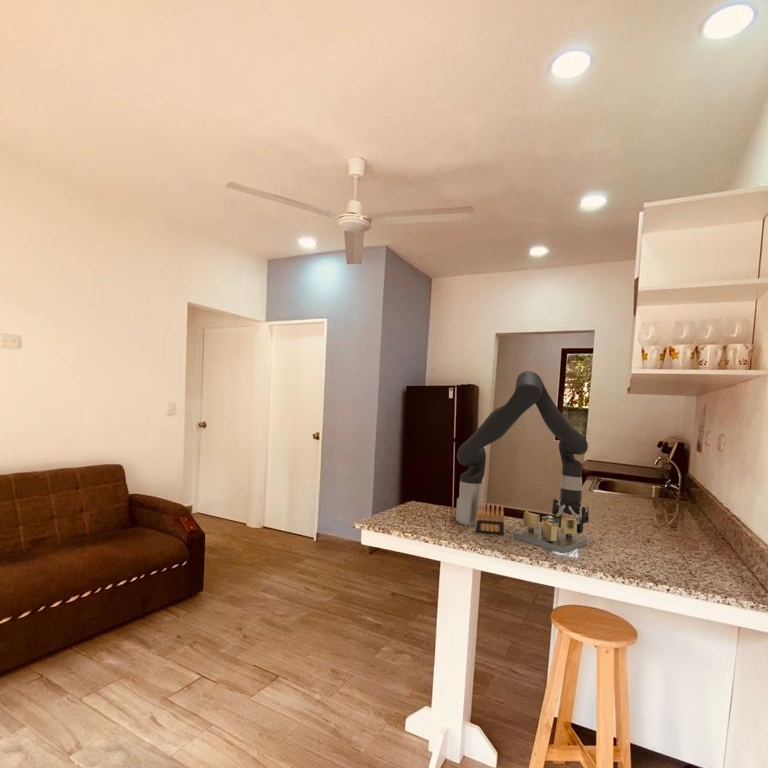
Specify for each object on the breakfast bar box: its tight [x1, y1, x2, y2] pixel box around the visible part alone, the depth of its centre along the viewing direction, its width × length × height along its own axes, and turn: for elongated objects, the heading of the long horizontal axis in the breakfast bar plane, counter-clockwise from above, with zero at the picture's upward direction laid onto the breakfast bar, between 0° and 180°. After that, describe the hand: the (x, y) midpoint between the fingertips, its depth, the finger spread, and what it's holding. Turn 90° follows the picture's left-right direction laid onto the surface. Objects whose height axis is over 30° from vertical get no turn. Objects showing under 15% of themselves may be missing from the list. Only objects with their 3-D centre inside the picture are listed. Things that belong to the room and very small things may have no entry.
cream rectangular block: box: [560, 517, 579, 537], centre depth 167 cm, size 2×6×7 cm, turn 99°
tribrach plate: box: [512, 515, 588, 554], centre depth 166 cm, size 20×18×9 cm
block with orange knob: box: [522, 510, 541, 531], centre depth 172 cm, size 2×6×7 cm, turn 41°
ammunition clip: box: [475, 501, 505, 536], centre depth 171 cm, size 11×2×12 cm, turn 86°
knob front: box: [543, 520, 557, 543], centre depth 159 cm, size 2×6×7 cm, turn 8°
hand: (569, 530), depth 167 cm, fingers open, 8 cm apart
